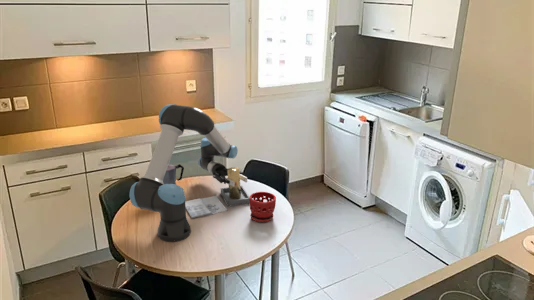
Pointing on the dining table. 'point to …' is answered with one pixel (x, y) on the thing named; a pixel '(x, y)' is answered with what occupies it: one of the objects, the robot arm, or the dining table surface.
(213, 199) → the bicycle print cloth
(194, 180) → the dining table surface
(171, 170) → the moka pot
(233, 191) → the cylinder
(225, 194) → the slate tray
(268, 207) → the plant pot
